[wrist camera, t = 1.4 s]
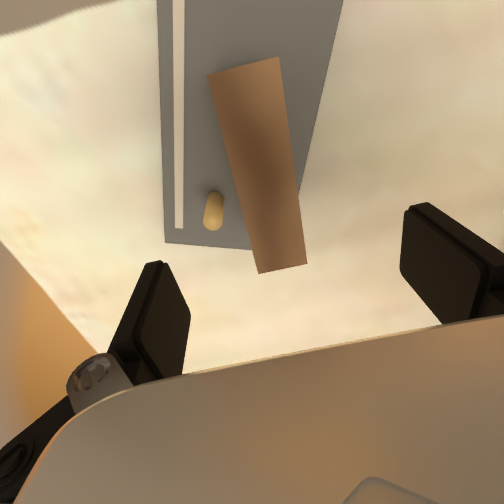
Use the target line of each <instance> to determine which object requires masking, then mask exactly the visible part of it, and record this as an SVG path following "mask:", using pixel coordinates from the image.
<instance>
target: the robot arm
mask: <svg viewBox="0 0 504 504" xmlns="http://www.w3.org/2000/svg"><path fill="white" fill-rule="evenodd" d="M400 272H401V274H402V276H403V277H404V279H405V280H406V281H407V282H408V283H409V285H410V286H411V287H412V288H413V289H414V291H415V292H416V293H417V294H418V295H419V297H420V298H421V299H422V300H423V301H424V303H425V304H426V305H427V306H428V307H429V309H430V310H431V311H432V312H433V314H434V315H435V316H436V317H437V318H438V320H439V321H440V322H441V323H442V325H436V326H431V327H426V328H420V329H415V330H409V331H404V332H399V333H393V334H388V335H382V336H377V337H372V338H366V339H361V340H356V341H350V342H345V343H340V344H335V345H329V346H324V347H319V348H314V349H308V350H303V351H298V352H293V353H288V354H282V355H277V356H272V357H267V358H262V359H257V360H252V361H247V362H242V363H237V364H231V365H226V366H221V367H216V368H211V369H206V370H201V371H197V372H192V373H187V374H182V370H183V364H184V357H185V351H186V345H187V339H188V332H189V326H190V320H191V314H190V310H189V308H188V306H187V304H186V302H185V299H184V297H183V295H182V293H181V291H180V289H179V286H178V284H177V282H176V280H175V278H174V276H173V274H172V271H171V269H170V267H169V265H168V264H167V263H163V262H162V261H161V260H159V261H154V262H150V263H146V264H145V266H144V268H143V271H142V273H141V275H140V278H139V280H138V282H137V284H136V287H135V289H134V291H133V294H132V296H131V298H130V300H129V303H128V305H127V307H126V310H125V312H124V314H123V316H122V319H121V321H120V323H119V326H118V328H117V330H116V332H115V335H114V337H113V339H112V342H111V344H110V346H109V349H108V351H107V353H101V354H97V355H94V356H92V357H90V358H88V359H86V360H85V361H84V362H82V363H81V364H80V365H79V366H78V367H77V368H76V369H75V370H74V371H73V372H72V374H71V375H70V377H69V379H68V381H67V384H66V391H67V394H68V395H67V396H66V397H64V398H63V399H62V400H61V401H60V402H58V403H57V404H56V405H55V406H53V407H52V408H51V409H50V410H48V411H47V412H46V413H45V414H43V415H42V416H41V417H40V418H38V419H37V420H36V421H35V422H33V423H32V424H31V425H30V426H28V427H27V428H26V429H25V430H24V431H22V432H21V433H20V434H18V435H17V436H16V437H15V438H13V439H12V440H11V441H10V442H9V443H7V444H6V445H5V446H4V447H3V448H2V449H1V450H0V504H504V253H503V252H501V251H500V250H498V249H497V248H495V247H494V246H492V245H491V244H489V243H488V242H486V241H485V240H483V239H482V238H480V237H479V236H478V235H476V234H475V233H473V232H472V231H470V230H469V229H467V228H466V227H464V226H463V225H461V224H460V223H458V222H457V221H455V220H454V219H452V218H451V217H449V216H448V215H446V214H445V213H443V212H442V211H441V210H439V209H438V208H436V207H435V206H433V205H432V204H430V203H428V202H425V203H420V204H416V205H411V206H410V207H409V209H408V210H406V211H405V213H404V221H403V232H402V244H401V255H400Z"/></svg>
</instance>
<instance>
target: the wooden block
mask: <svg viewBox="0 0 504 504" xmlns="http://www.w3.org/2000/svg"><path fill="white" fill-rule="evenodd" d="M207 78H208V82H209V86H210V89H211V93H212V97H213V101H214V105H215V109H216V113H217V116H218V120H219V124H220V128H221V132H222V136H223V140H224V143H225V147H226V151H227V155H228V159H229V163H230V166H231V170H232V174H233V178H234V182H235V186H236V190H237V193H238V197H239V201H240V205H241V209H242V213H243V217H244V220H245V224H246V228H247V232H248V236H249V240H250V244H251V247H252V251H253V255H254V259H255V263H256V267H257V270H258V274H261V273H266V272H270V271H275V270H280V269H285V268H290V267H294V266H299V265H304V264H307V258H306V250H305V243H304V236H303V229H302V221H301V214H300V207H299V200H298V192H297V185H296V178H295V170H294V163H293V156H292V149H291V141H290V134H289V127H288V120H287V112H286V105H285V98H284V91H283V83H282V76H281V69H280V62H279V56H277V57H274V58H270V59H266V60H262V61H258V62H254V63H251V64H247V65H243V66H239V67H235V68H231V69H228V70H224V71H220V72H216V73H212V74H209V75H207Z"/></svg>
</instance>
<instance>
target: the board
mask: <svg viewBox="0 0 504 504" xmlns="http://www.w3.org/2000/svg"><path fill="white" fill-rule="evenodd" d="M342 4H343V0H157V15H158V46H159V76H160V107H161V138H162V169H163V200H164V230H165V243H173V244H185V245H197V246H209V247H221V248H233V249H244V250H252V247H251V244H250V240H249V236H248V232H247V228H246V224H245V220H244V217H243V213H242V209H241V205H240V201H239V197H238V193H237V190H236V186H235V182H234V178H233V174H232V170H231V166H230V163H229V159H228V155H227V151H226V147H225V143H224V140H223V136H222V132H221V128H220V124H219V120H218V116H217V113H216V109H215V105H214V101H213V97H212V93H211V89H210V86H209V82H208V78H207V75H209V74H212V73H216V72H220V71H224V70H228V69H231V68H235V67H239V66H243V65H247V64H251V63H254V62H258V61H262V60H266V59H270V58H274V57H277V56H279V62H280V69H281V76H282V83H283V91H284V98H285V105H286V112H287V120H288V127H289V134H290V141H291V149H292V156H293V163H294V170H295V178H296V185H297V192H298V194H299V190H300V186H301V181H302V177H303V173H304V168H305V164H306V160H307V155H308V151H309V147H310V142H311V138H312V134H313V129H314V125H315V121H316V117H317V112H318V108H319V104H320V99H321V95H322V91H323V86H324V82H325V78H326V73H327V69H328V65H329V60H330V56H331V52H332V47H333V43H334V39H335V35H336V30H337V26H338V22H339V17H340V13H341V9H342Z"/></svg>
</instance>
